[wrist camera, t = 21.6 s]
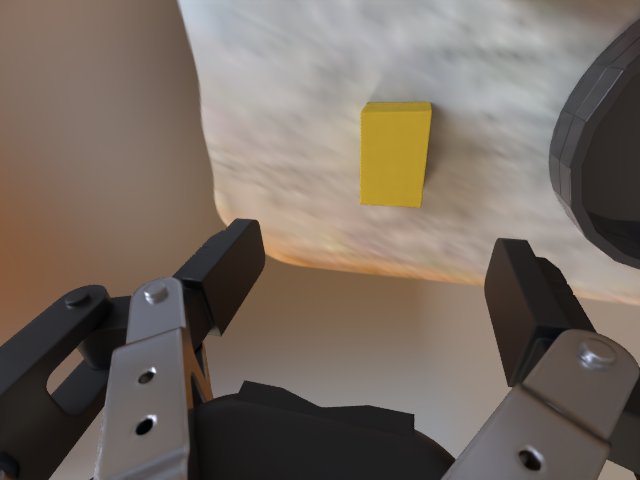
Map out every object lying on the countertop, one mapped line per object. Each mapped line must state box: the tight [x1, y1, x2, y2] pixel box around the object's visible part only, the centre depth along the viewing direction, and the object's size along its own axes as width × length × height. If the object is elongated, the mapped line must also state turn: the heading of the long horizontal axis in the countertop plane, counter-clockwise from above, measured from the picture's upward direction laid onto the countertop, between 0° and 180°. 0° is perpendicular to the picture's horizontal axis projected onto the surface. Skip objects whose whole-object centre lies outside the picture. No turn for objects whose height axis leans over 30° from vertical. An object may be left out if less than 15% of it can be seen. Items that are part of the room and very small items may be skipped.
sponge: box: [360, 102, 432, 208], centre depth 21 cm, size 6×4×3 cm, turn 3°
